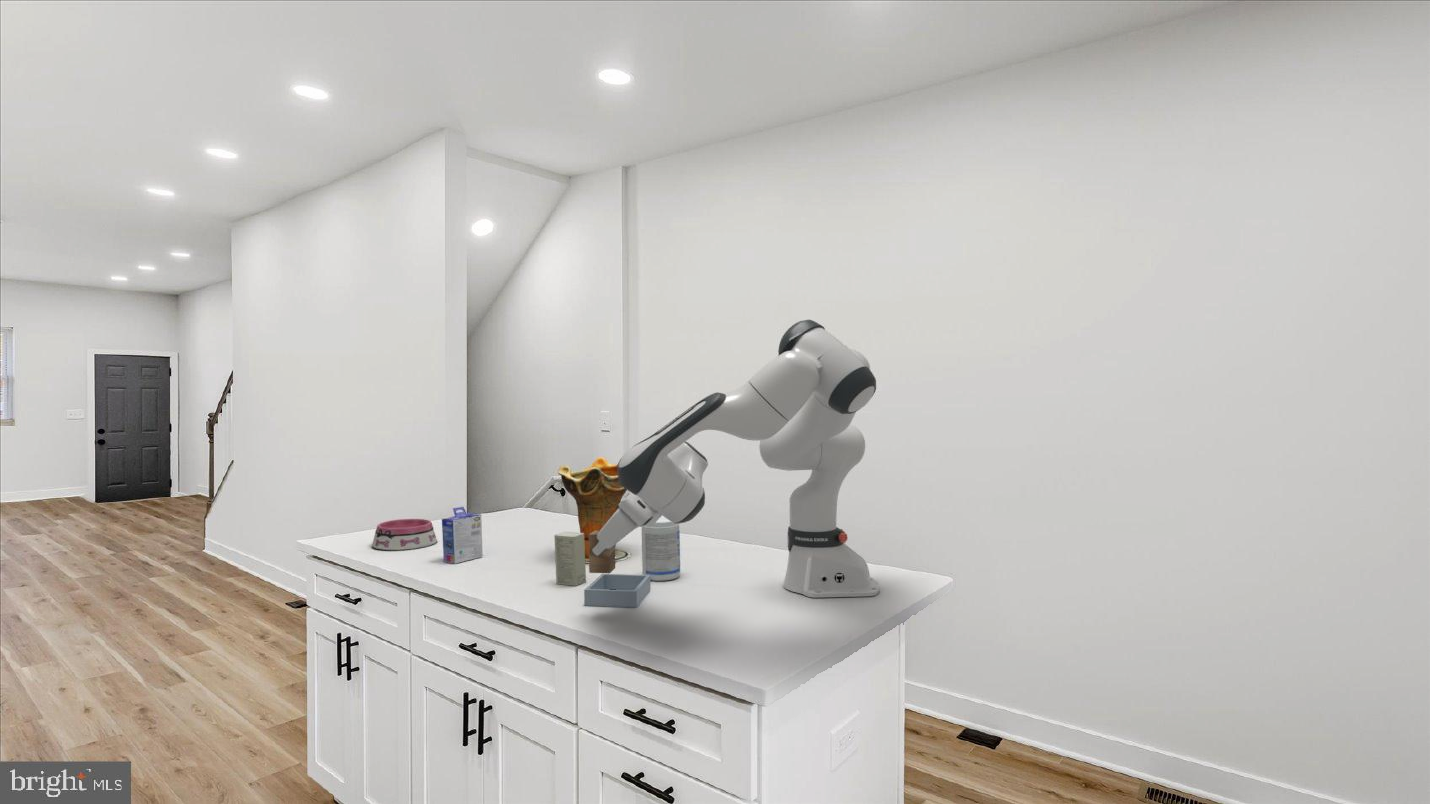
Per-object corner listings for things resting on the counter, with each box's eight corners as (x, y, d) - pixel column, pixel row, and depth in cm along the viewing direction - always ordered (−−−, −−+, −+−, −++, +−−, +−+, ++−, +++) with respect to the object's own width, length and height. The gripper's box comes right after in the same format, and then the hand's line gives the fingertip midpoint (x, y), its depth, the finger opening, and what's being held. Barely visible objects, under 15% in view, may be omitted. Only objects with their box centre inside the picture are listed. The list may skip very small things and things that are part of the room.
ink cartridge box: (470, 554, 211) (470, 504, 211) (483, 557, 208) (483, 506, 208) (441, 562, 203) (440, 509, 202) (454, 564, 200) (453, 511, 199)
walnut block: (615, 568, 157) (614, 530, 157) (609, 573, 152) (609, 534, 152) (595, 567, 157) (594, 530, 157) (589, 572, 153) (588, 534, 153)
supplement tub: (687, 578, 184) (686, 519, 184) (653, 584, 179) (653, 523, 178) (668, 570, 192) (667, 513, 192) (635, 575, 187) (634, 517, 186)
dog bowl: (450, 541, 230) (450, 519, 230) (402, 554, 213) (402, 530, 213) (407, 536, 238) (406, 515, 237) (357, 548, 221) (357, 526, 220)
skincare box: (586, 582, 181) (585, 533, 181) (575, 586, 177) (575, 536, 177) (565, 579, 184) (564, 531, 183) (554, 583, 180) (553, 534, 179)
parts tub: (650, 589, 174) (650, 575, 174) (636, 607, 160) (636, 591, 160) (602, 588, 176) (601, 573, 175) (584, 605, 162) (584, 589, 162)
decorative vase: (543, 562, 199) (545, 459, 200) (583, 548, 221) (584, 455, 222) (614, 568, 193) (615, 461, 194) (647, 552, 215) (648, 457, 216)
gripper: (644, 486, 164) (603, 529, 166) (621, 500, 144) (573, 549, 145) (664, 506, 164) (622, 549, 165) (643, 523, 143) (595, 572, 145)
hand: (599, 549), depth 155 cm, fingers closed on walnut block, 4 cm apart
